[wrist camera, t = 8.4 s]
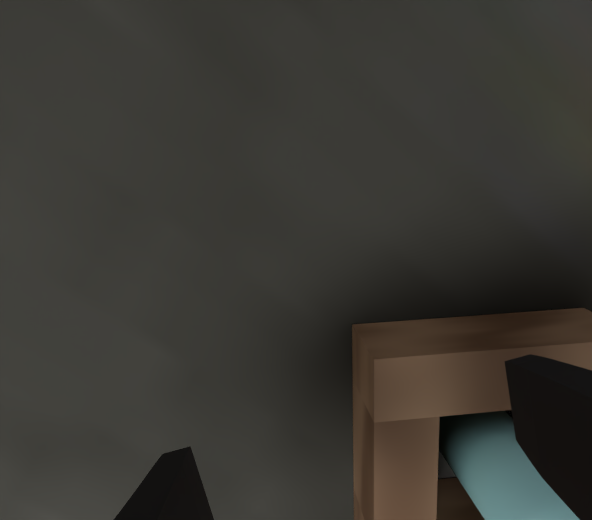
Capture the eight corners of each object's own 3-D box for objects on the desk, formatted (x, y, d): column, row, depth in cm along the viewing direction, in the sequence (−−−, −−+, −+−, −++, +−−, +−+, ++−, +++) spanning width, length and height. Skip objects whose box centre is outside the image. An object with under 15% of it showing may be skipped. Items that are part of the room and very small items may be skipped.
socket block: (583, 307, 23) (644, 337, 19) (564, 511, 25) (615, 569, 22) (351, 324, 22) (373, 359, 18) (353, 534, 24) (374, 600, 21)
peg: (488, 378, 23) (594, 479, 16) (509, 438, 24) (617, 558, 17) (420, 407, 23) (498, 522, 16) (443, 466, 24) (526, 598, 17)
